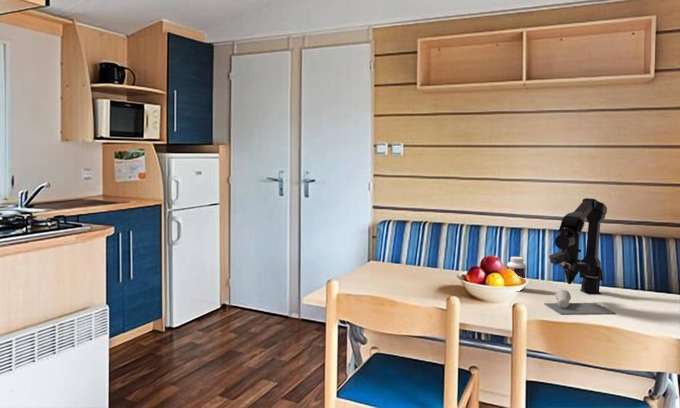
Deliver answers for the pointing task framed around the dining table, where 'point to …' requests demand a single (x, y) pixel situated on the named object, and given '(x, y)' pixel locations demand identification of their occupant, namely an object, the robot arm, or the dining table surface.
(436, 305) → the dining table surface
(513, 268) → the pill bottle
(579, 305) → the mat
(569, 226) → the robot arm
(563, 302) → the salt shaker
